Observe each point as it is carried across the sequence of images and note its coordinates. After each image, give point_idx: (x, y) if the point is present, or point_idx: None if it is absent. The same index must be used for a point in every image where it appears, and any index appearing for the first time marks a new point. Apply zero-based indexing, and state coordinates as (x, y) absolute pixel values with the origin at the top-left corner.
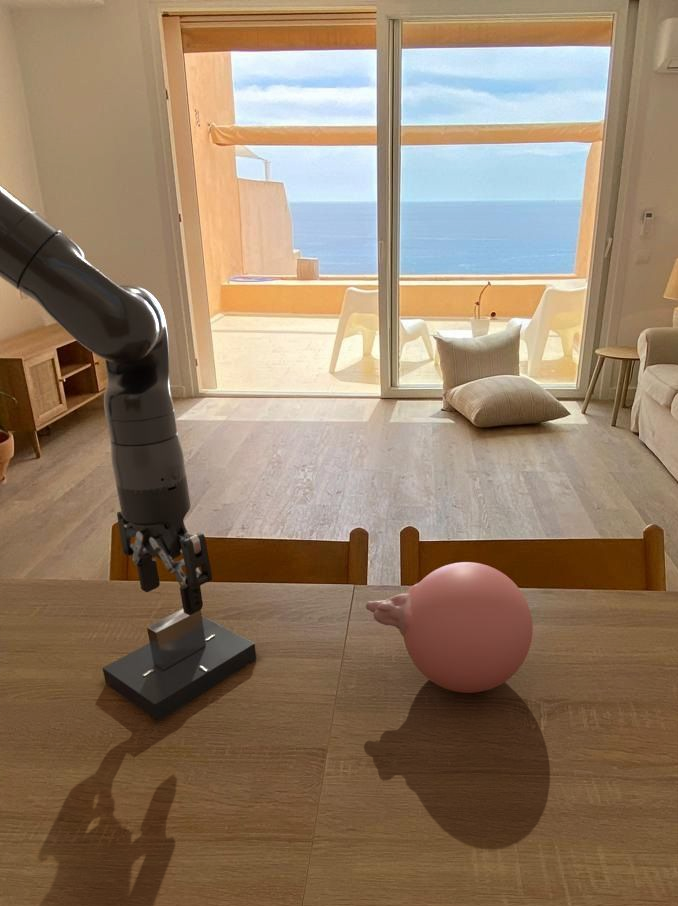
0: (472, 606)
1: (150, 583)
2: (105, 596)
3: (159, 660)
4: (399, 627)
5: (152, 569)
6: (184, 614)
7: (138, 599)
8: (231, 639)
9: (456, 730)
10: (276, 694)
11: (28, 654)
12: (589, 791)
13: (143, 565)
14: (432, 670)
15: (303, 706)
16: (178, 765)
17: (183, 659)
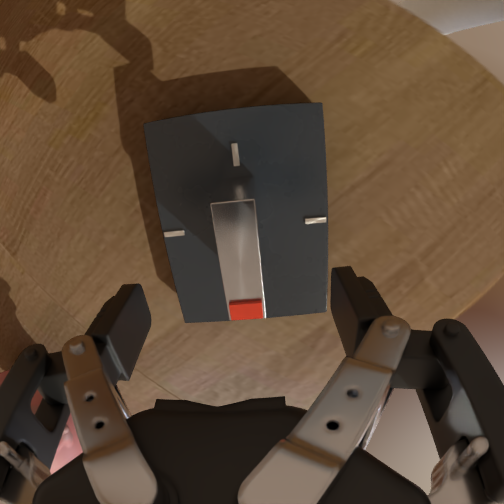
0: None
1: (336, 297)
2: (500, 239)
3: (226, 182)
4: (35, 410)
5: (346, 337)
6: (235, 288)
7: (463, 268)
8: (221, 307)
9: (5, 338)
10: (105, 277)
11: (471, 82)
12: None
13: (358, 332)
14: (4, 376)
15: (71, 283)
16: (64, 112)
17: None
